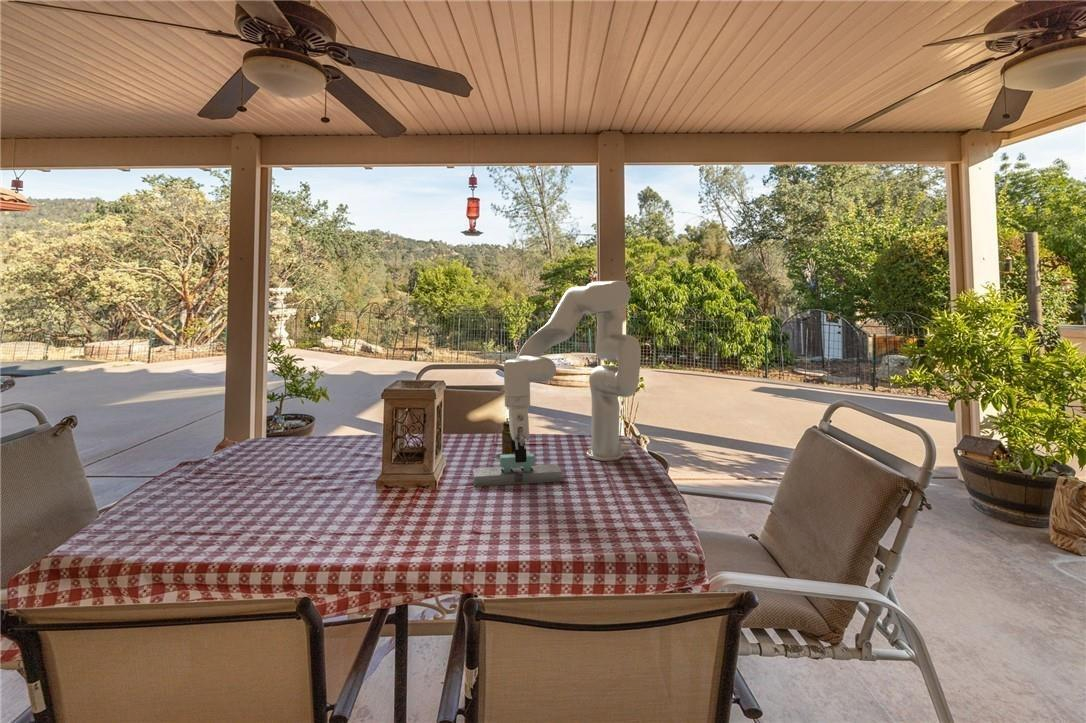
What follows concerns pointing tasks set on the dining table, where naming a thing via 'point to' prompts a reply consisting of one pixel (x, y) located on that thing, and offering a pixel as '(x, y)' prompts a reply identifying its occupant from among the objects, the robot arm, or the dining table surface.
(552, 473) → the rail
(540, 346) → the robot arm
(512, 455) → the clip
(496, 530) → the dining table surface
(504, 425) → the condiment
